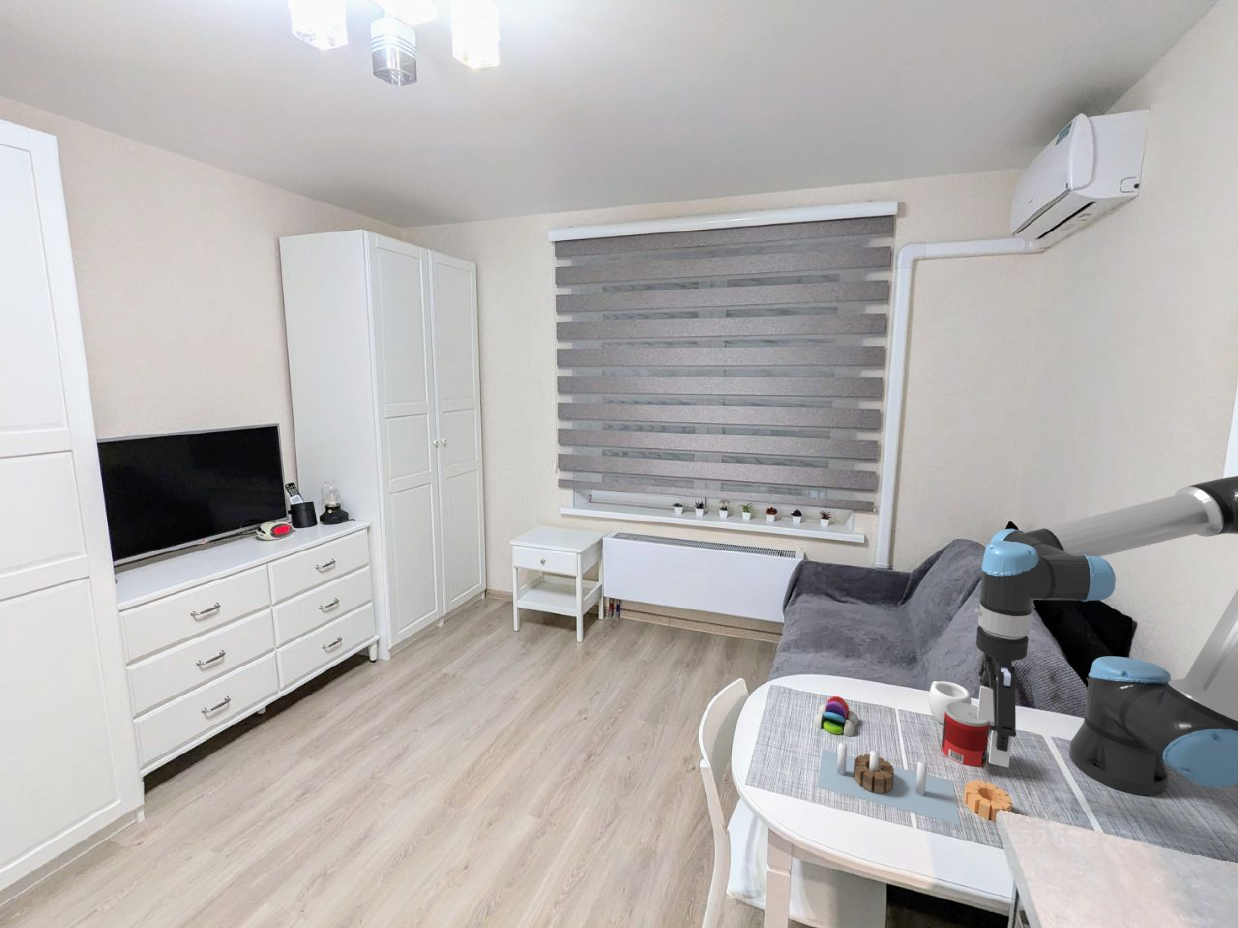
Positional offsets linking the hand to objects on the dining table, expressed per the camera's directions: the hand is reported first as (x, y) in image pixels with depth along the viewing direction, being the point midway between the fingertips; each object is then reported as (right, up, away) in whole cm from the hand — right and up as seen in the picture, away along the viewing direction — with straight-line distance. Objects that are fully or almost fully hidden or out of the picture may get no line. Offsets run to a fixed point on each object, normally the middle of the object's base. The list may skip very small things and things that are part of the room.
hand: (991, 740), depth 103 cm
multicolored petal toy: (-18, -11, +28) cm, 35 cm away
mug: (+9, -10, +32) cm, 34 cm away
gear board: (-16, -14, +8) cm, 22 cm away
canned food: (+5, -12, +16) cm, 21 cm away
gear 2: (0, -15, +2) cm, 15 cm away
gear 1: (-18, -12, +9) cm, 23 cm away
